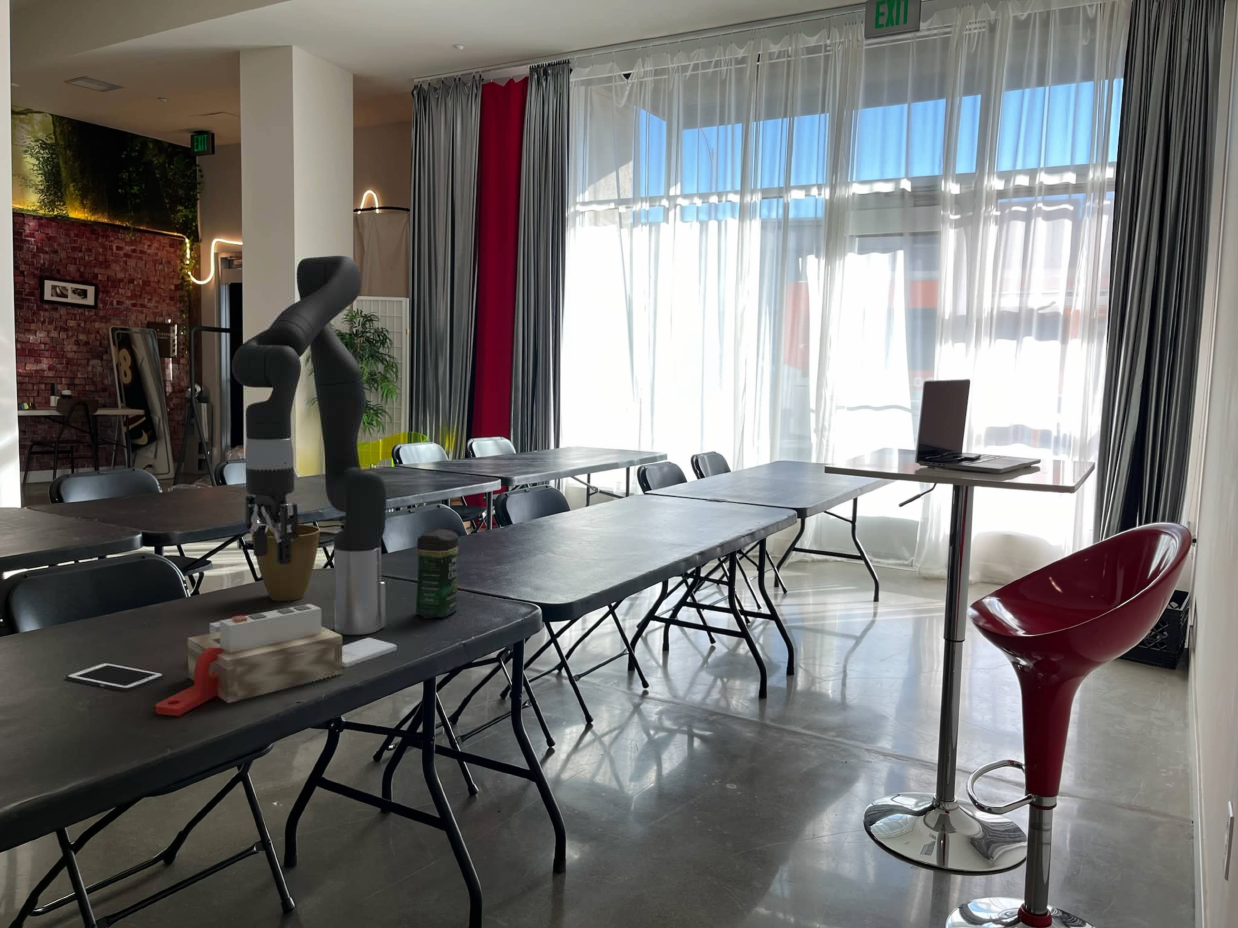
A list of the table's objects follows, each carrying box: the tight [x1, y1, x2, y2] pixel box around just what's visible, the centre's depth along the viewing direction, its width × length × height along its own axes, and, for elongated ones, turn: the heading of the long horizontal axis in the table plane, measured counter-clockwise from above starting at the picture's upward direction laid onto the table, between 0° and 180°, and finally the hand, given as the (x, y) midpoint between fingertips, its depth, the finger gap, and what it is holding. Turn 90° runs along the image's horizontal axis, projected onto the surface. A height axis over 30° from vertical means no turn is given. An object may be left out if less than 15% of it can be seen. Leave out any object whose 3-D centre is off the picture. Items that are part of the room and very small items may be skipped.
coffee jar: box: [415, 528, 459, 619], centre depth 194 cm, size 10×8×19 cm
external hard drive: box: [342, 637, 398, 668], centre depth 166 cm, size 2×8×12 cm
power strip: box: [219, 603, 322, 653], centre depth 151 cm, size 16×4×9 cm, turn 137°
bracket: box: [155, 647, 224, 717], centre depth 141 cm, size 12×4×8 cm, turn 167°
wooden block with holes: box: [187, 625, 343, 704], centre depth 153 cm, size 20×16×7 cm
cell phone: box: [65, 662, 165, 692], centre depth 151 cm, size 8×15×1 cm, turn 70°
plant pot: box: [251, 523, 321, 602], centre depth 204 cm, size 15×15×16 cm
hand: (272, 559), depth 150 cm, fingers open, 8 cm apart
